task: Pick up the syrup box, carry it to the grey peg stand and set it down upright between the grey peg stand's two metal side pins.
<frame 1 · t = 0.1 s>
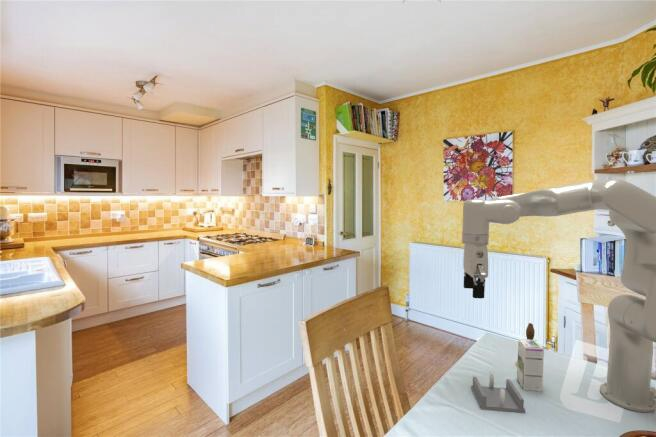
hand: (473, 292, 102), 31 cm above the table, tool pointing down, fingers open, 9 cm apart
grey peg stand: (496, 399, 98), on the table
syrup box: (529, 386, 105), on the table
hand bell: (528, 367, 116), on the table
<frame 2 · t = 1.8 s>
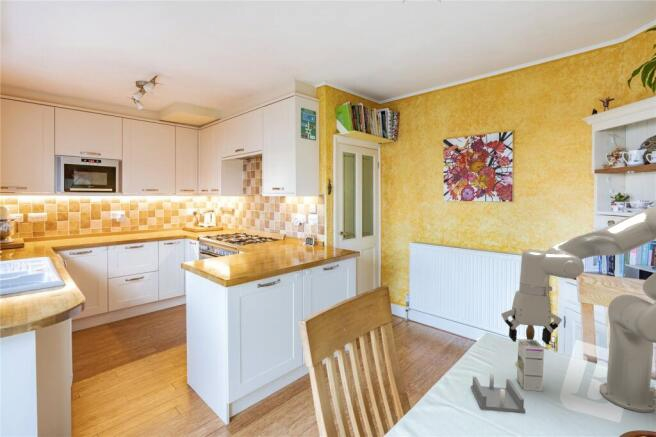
hand: (529, 341, 104), 15 cm above the table, tool pointing down, fingers open, 9 cm apart
nothing on the table moved.
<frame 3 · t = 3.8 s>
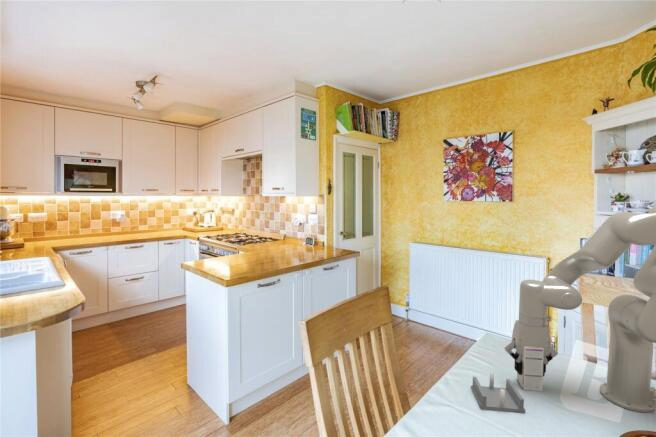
hand: (529, 372, 104), 4 cm above the table, tool pointing down, fingers closed on syrup box, 6 cm apart
syrup box: (528, 386, 105), on the table, touching gripper
everything else where it was.
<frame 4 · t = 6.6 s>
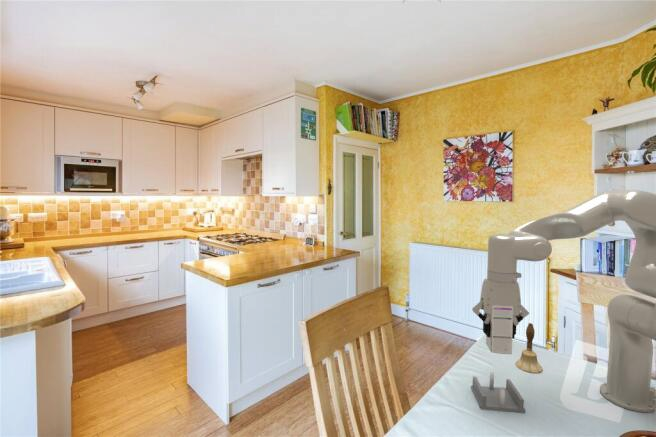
hand: (499, 335, 96), 20 cm above the table, tool pointing down, fingers closed on syrup box, 6 cm apart
syrup box: (498, 349, 96), point 16 cm above the table, touching gripper
everything else where it was.
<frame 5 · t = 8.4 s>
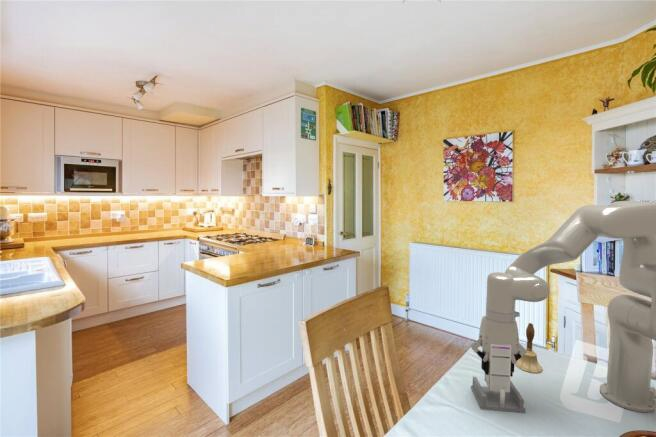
hand: (497, 372, 97), 9 cm above the table, tool pointing down, fingers closed on syrup box, 6 cm apart
syrup box: (496, 386, 97), point 4 cm above the table, touching gripper
everything else where it was.
when the fingers open (6 cm above the table, at t = 9.8 s): syrup box drops 1 cm, resting on grey peg stand.
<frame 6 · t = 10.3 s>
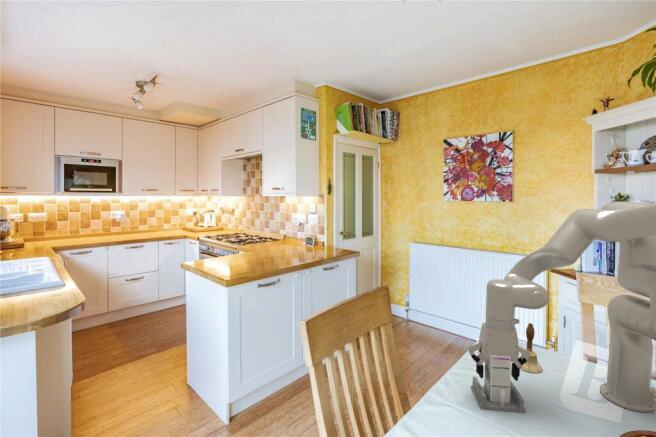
hand: (497, 377, 97), 7 cm above the table, tool pointing down, fingers open, 9 cm apart
syrup box: (496, 397, 98), point 1 cm above the table, touching grey peg stand
everything else where it was.
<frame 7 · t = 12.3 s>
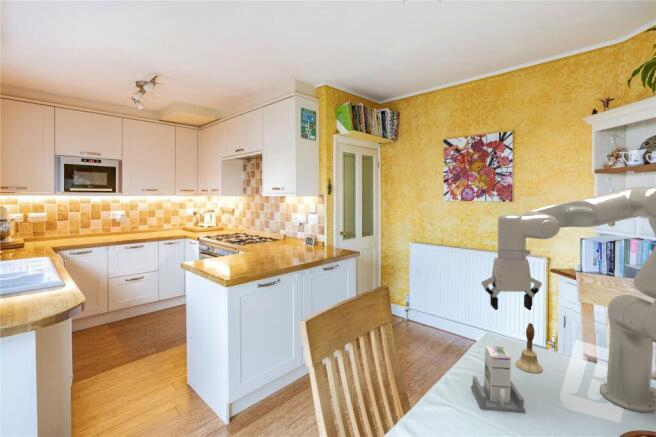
hand: (511, 308, 101), 26 cm above the table, tool pointing down, fingers open, 9 cm apart
nothing on the table moved.
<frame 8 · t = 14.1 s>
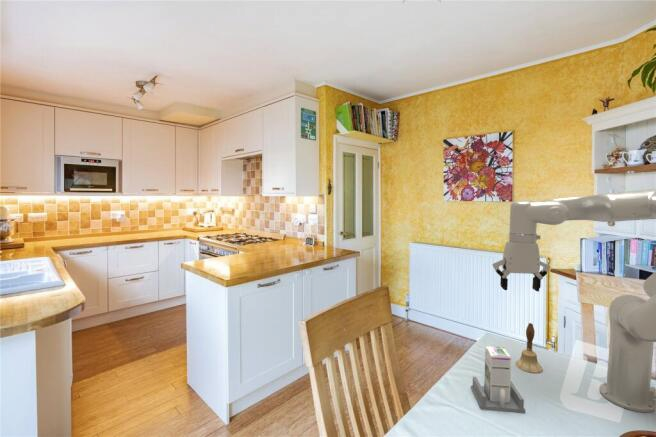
hand: (519, 289, 107), 30 cm above the table, tool pointing down, fingers open, 9 cm apart
nothing on the table moved.
at the end: syrup box 0.0 cm off-centre on the grey peg stand, point 0.8 cm above the grey peg stand's base; syrup box tilted 0°; the gripper is holding nothing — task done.
